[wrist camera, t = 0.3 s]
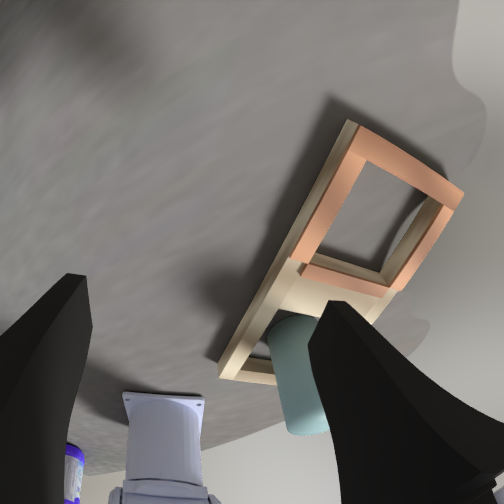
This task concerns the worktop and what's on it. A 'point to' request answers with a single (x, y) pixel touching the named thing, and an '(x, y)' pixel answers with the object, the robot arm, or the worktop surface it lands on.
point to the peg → (296, 375)
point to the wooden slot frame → (333, 270)
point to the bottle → (73, 474)
